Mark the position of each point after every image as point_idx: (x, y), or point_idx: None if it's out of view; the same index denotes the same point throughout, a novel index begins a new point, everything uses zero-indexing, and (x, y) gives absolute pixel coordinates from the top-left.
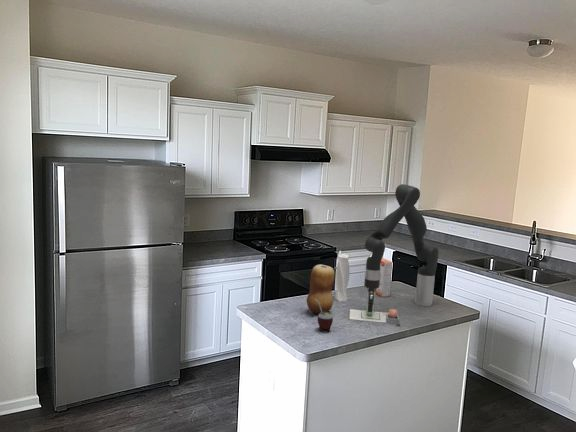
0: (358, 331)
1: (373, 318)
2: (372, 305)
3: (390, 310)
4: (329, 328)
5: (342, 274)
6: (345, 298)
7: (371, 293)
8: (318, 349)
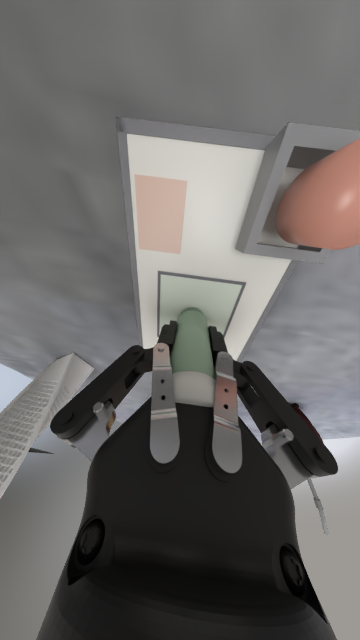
0: (321, 361)
1: (228, 308)
2: (220, 350)
3: (353, 236)
4: (302, 413)
5: None
6: (70, 366)
7: (290, 486)
8: None
